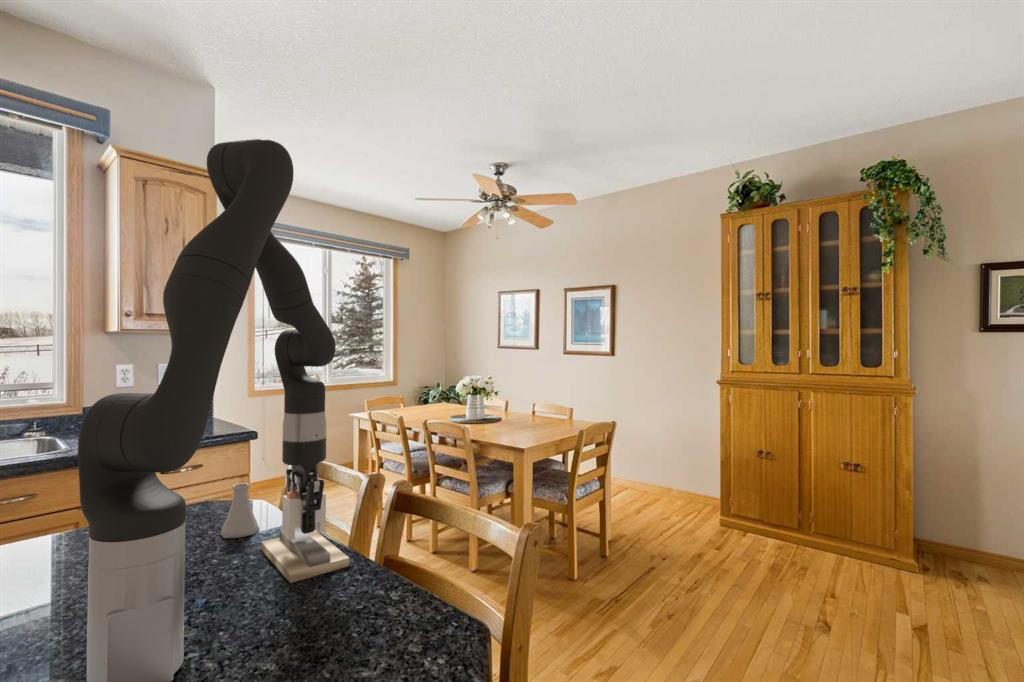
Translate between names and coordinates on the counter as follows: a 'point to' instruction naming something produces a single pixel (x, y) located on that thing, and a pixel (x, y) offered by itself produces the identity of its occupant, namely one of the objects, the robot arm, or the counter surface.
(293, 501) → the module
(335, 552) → the rail board
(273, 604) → the counter surface
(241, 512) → the flask
